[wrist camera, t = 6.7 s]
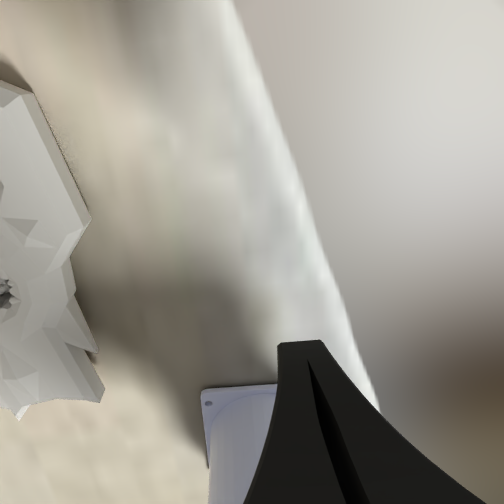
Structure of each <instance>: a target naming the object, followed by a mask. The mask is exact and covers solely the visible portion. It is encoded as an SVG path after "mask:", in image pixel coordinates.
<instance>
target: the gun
mask: <svg viewBox="0 0 504 504" xmlns="http://www.w3.org/2000/svg"><path fill="white" fill-rule="evenodd" d="M91 220H92V218H91V216H90V214H89V212H88V210H87V208H86V205H85V203H84V201H83V199H82V197H81V195H80V192H79V190H78V188H77V186H76V184H75V182H74V180H73V177H72V175H71V173H70V171H69V169H68V167H67V164H66V162H65V160H64V158H63V156H62V154H61V151H60V149H59V147H58V145H57V143H56V141H55V139H54V136H53V134H52V132H51V130H50V128H49V126H48V123H47V121H46V119H45V117H44V115H43V113H42V111H41V108H40V106H39V104H38V102H37V100H36V98H35V95H34V93H31V92H29V91H27V90H24V89H22V88H19V87H17V86H14V85H12V84H9V83H7V82H4V81H2V80H0V407H1V408H4V409H9V410H11V411H12V412H13V414H14V415H15V416H16V418H17V419H18V421H19V420H20V419H21V417H22V416H23V414H24V413H25V411H26V410H27V409H28V407H29V406H30V405H32V404H37V403H41V402H45V401H50V400H54V399H68V400H87V401H92V402H97V403H100V401H101V398H102V396H103V393H104V391H105V387H104V385H103V383H102V381H101V379H100V378H99V376H98V374H97V372H96V370H95V368H94V367H93V365H92V363H91V361H90V359H89V358H88V356H87V354H86V352H85V351H84V349H85V350H87V351H90V352H93V353H96V354H97V353H98V351H99V349H98V347H97V345H96V342H95V340H94V338H93V336H92V334H91V331H90V329H89V327H88V325H87V323H86V320H85V318H84V316H83V314H82V312H81V309H80V307H79V305H78V303H77V301H76V298H75V296H74V293H75V291H76V285H75V280H74V275H73V271H72V266H71V261H70V255H71V253H72V252H73V250H74V248H75V247H76V245H77V243H78V242H79V240H80V238H81V237H82V235H83V233H84V231H85V230H86V228H87V226H88V225H89V223H90V221H91Z"/></svg>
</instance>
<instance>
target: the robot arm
mask: <svg viewBox="0 0 504 504" xmlns="http://www.w3.org/2000/svg"><path fill="white" fill-rule="evenodd" d="M277 354H278V383H277V384H269V385H254V386H240V387H226V388H212V389H205V390H203V391H202V392H201V397H200V399H201V407H202V415H203V423H204V431H205V439H206V447H207V454H208V462H209V498H208V504H486V503H485V502H483V501H482V500H481V499H479V498H478V497H476V496H475V495H474V494H472V493H471V492H470V491H468V490H467V489H465V488H464V487H463V486H462V485H460V484H459V483H457V482H456V481H455V480H454V479H453V478H451V477H450V476H449V475H448V474H446V473H445V472H444V471H443V470H441V469H440V468H439V467H438V466H436V465H435V464H434V463H432V462H431V461H430V460H429V459H428V458H427V457H425V456H424V455H423V454H422V453H421V452H420V451H419V450H417V449H416V448H415V447H414V446H413V445H412V444H411V443H409V442H408V441H407V440H406V439H405V438H404V437H403V436H402V435H401V434H400V433H399V432H398V431H397V430H396V429H395V428H394V427H393V426H392V425H391V424H390V423H389V422H388V421H386V419H385V418H384V417H383V416H382V415H381V414H380V413H379V412H378V411H377V410H376V409H375V408H374V407H373V405H372V404H371V403H370V402H369V401H368V400H367V399H366V398H365V397H364V395H363V394H362V393H361V392H360V391H359V389H358V388H357V387H356V386H355V385H354V383H353V382H352V381H351V380H350V379H349V377H348V376H347V375H346V374H345V372H344V371H343V370H342V368H341V367H340V366H339V364H338V363H337V362H336V360H335V359H334V358H333V356H332V355H331V353H330V352H329V351H328V349H327V348H326V346H325V345H324V343H323V342H322V341H321V340H309V341H297V342H284V343H280V344H279V345H278V346H277ZM207 401H210V402H207Z"/></svg>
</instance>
